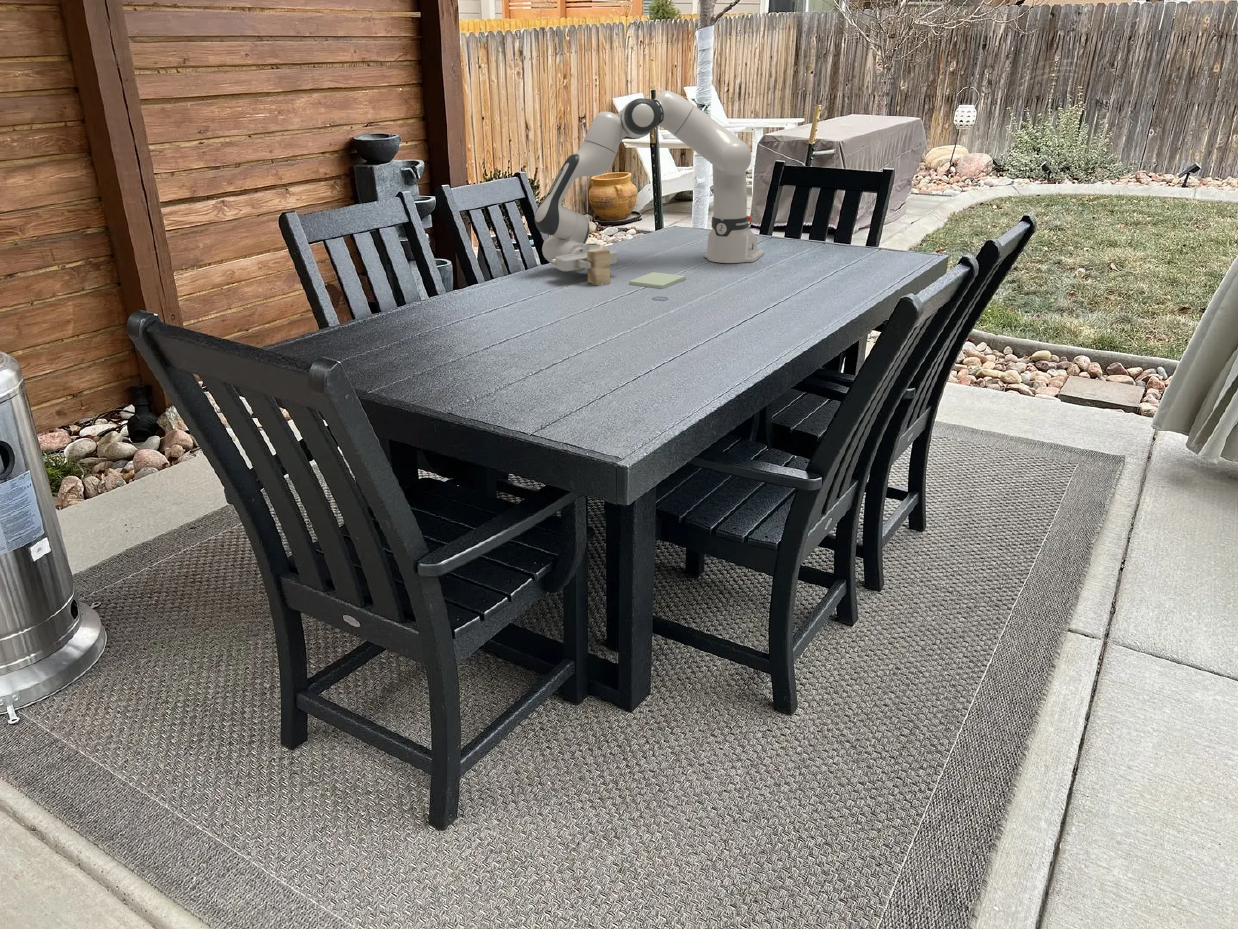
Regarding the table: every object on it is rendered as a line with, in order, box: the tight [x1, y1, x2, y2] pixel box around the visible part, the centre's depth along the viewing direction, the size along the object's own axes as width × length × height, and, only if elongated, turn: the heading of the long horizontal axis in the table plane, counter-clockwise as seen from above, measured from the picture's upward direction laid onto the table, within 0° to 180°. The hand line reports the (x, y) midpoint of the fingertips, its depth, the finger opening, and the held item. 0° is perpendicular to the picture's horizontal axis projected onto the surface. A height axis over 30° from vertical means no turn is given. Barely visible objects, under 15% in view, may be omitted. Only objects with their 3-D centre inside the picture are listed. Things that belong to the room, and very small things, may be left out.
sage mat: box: [628, 271, 687, 290], centre depth 284 cm, size 14×12×1 cm
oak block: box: [586, 248, 611, 286], centre depth 282 cm, size 5×5×10 cm
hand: (600, 264), depth 281 cm, fingers closed on oak block, 5 cm apart
